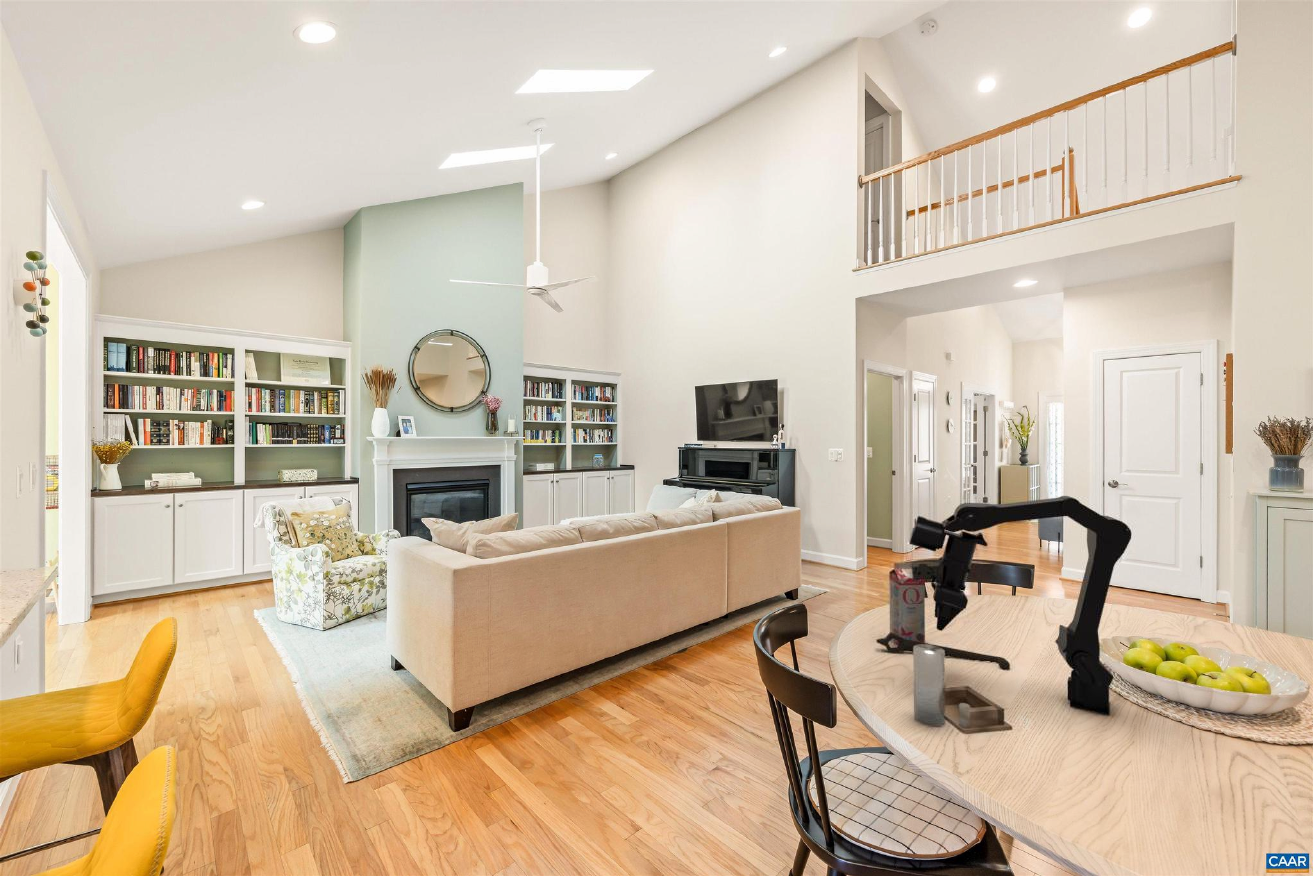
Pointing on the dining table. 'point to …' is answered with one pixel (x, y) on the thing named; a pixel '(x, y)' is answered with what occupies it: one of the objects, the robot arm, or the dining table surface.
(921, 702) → the grey cylinder
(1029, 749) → the dining table surface
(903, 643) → the wrench
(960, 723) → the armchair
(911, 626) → the juice carton
